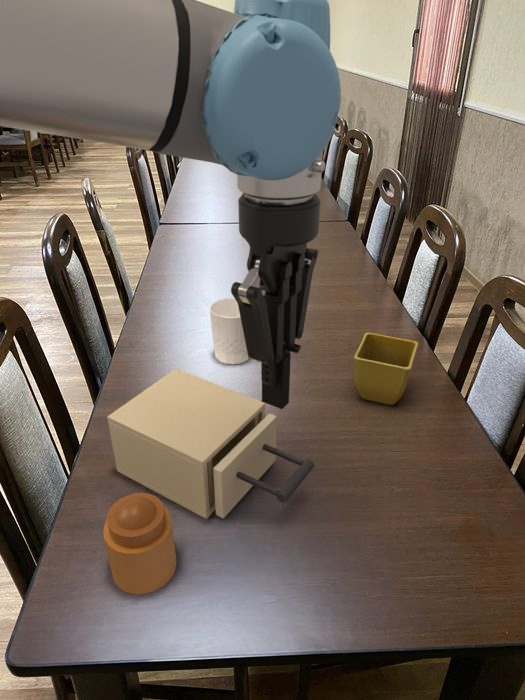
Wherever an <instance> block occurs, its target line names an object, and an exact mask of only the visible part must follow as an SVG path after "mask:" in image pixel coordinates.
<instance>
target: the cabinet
mask: <svg viewBox="0 0 525 700" xmlns="http://www.w3.org/2000/svg"><path fill="white" fill-rule="evenodd" d="M257 415H258V424H259V423H260V422H261V421H262V420H263V419H264V418H265V417H266V403H264V402H262V400H260V399H259V400H258V399H256V398H253V397H250V396H248V395H245V394H243V393H241V392H238V391H235V390H233V389H230V388H228V387H225V386H222V385H219V384H218V383H215V382H212V381H209V380H207V379H204V378H202V377H199V376H196V375H195V374H191V373H189V372H186V371H183V370H181V369H178V368H174V369H173V370H172V371H170V372H169V373H167V374H165V376H163V377H161V378H160V379H159V380H157V381H156V382H155V383H153V384H152V385H150V386H149V387H147V388H146V389H144V390H143V391H142V392H140V393H139V394H137V395H136V396H134V397H133V398H131V399H130V400H128V401H127V402H126V403H125V404H123V405H122V406H120V407H118V408H117V409H116V410H114V411H113V412H112V413H110V414H109V415H107V416H106V419H107V423H108V429H109V434H110V439H111V445H112V451H113V457H114V461H115V462H114V463H115V466H116V472H117V473H119V474H122V475H123V476H125V477H127V478H129V479H131V480H133V481H134V482H136V483H138V484H140V485H142V486H144V487H146V488H148V489H149V490H151V491H153V492H155V493H157V494H158V495H161V496H162V497H164V498H166V499H168V500H170V501H172V502H173V503H176V504H177V505H179V506H181V507H183V508H185V509H187V510H189V511H190V512H192V513H194V514H196V515H198V516H200V517H201V518H203V519H206V520H207V519H209V517H210V516H211V515H212V514H213V513H214V512H216V507H215V501H214V502H213V503H212V504H211V505H210V504H209V488H208V472H207V463H208V462H209V461H210V460H211V459H212V458H213V457H214V456H215V455H216V454H217V453H218V452H219V451H220V450H221V449H222V448H223V447H224V446H225V445H226V444H227V443H229V442H230V441H231V440H232V439H233V438H234V437H235V436H236V435H237V434H238V433H239V432H240V431H241V430H242V429H243V428H244V427H245V426H246V425H247V424H248V423H249V422H250V421H252V420H253V419H254V418H255V417H256V416H257Z"/></svg>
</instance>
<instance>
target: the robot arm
mask: <svg viewBox="0 0 525 700" xmlns="http://www.w3.org/2000/svg"><path fill="white" fill-rule="evenodd" d="M233 7H234V9H233V11H232V12H231V11H228V10H225V9H223V8H220V7H217V6H213V5H211V4H208V3H204V2H202V1H199V0H0V127H4V128H5V127H6V128H11V129H17V130H23V131H29V132H35V133H41V134H46V135H47V134H48V135H53V136H60V137H65V138H71V139H77V140H83V141H89V142H96V143H100V144H101V143H102V144H107V145H112V146H113V145H114V146H119V147H125V148H132V149H137V150H144V151H147V152H153V153H156V154H160V155H165V156H166V155H167V156H170V157H171V156H172V157H176V158H177V157H178V158H183V159H189V160H194V161H200V162H201V161H202V162H206V163H213V164H217V165H221V166H223V167H225V168H226V169H227V170H228V171H229V172H230V173H233V174H235V175H237V177H236V179H237V189H238V190H239V191H240V192H241V193H242V194H241V195H240V197H238V202H237V203H238V233H239V235H240V236H241V237H242V238H243V239H244V240H245V242H247V244H248V247H249V252H248V256H247V261H246V268H247V272H248V273H247V274H246V276H245V278H244V280H243V281H242V282H238V281H235V282H233V283H232V285H231V288H230V293H231V295H232V296H233V298H235V300H236V301H237V303H238V307H239V312H240V317H241V322H242V328H243V333H244V338H245V343H246V348H247V353H248V357H249V359H250V360H253V361H257V362H259V363H261V365H260V366H261V370H260V371H261V373H260V375H261V402H264V403H265V404H266V405H270V406H271V407H274V408H277V409H280V410H283V409H284V408H285V407H286V406H287V405H288V404H289V403H290V385H291V384H290V383H291V358H292V357H291V354H292V353H295V354H298V353H300V351H301V348H302V345H300V344H297V343H296V339H297V340H300V339H301V338H302V337H303V334H304V329H305V322H306V316H307V310H308V304H309V297H310V292H311V285H312V280H313V274H314V269H315V267H316V264H317V260H318V258H319V250H318V249H317V248H316V249H315V248H311V247H308V243H310V242H312V241H314V240H315V239H316V238H317V236H318V234H319V231H320V216H321V215H320V214H321V199H320V197H319V196H318V195H317V193H318V192H319V191H321V187H322V173H323V172H325V170H326V163H325V161H324V160H323V153H324V151H325V149H326V148H327V146H328V145H329V143H330V141H331V139H332V137H333V135H334V131H335V129H336V124H337V122H338V120H339V112H340V109H341V101H342V100H341V99H342V90H341V89H342V88H341V87H342V86H341V78H340V74H339V70H338V66H337V63H336V60H335V58H334V56H333V54H332V52H331V12H330V11H331V9H330V3H329V1H328V0H234V6H233Z"/></svg>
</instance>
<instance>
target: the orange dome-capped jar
mask: <svg viewBox="0 0 525 700" xmlns="http://www.w3.org/2000/svg"><path fill="white" fill-rule="evenodd" d="M103 526H104V527H103V532H102V533H103V538H104V543H105V548H106V554H107V557H108V562H109V566H110V571H111V576H112V580H113V582H114V584H115V585H116V586H117V588H119V589H120V590H121V591H122V592H125V593H127V594H131V595H140V596H141V595H148V594H152V593H154V592H156V591H158V590H161V588H163V587H164V586H166V585H167V583H168V582H169V581H170V580H171V579H172V577H173V576H174V574H175V572H176V569H177V553H176V546H175V537H174V529H173V520H172V516H171V513H170V511H169V510H168V509H167V507H165V505H164V503H163V501H162V500H161V499H160V498H159V497H158V496H156V495H154V494H151V493H147V492H134V493H130V494H127V495H125V496H123V497H121V498H119V499H117V500H116V501H115V502H114V503H113V504H112V505H111V506H110V508H109V510H108V511H107V515H106V521H105V522H104V525H103Z"/></svg>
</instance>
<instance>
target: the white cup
mask: <svg viewBox="0 0 525 700" xmlns="http://www.w3.org/2000/svg"><path fill="white" fill-rule="evenodd" d="M209 318H210V326H211V327H210V328H211V335H212V341H213V342H212V343H213V346H214V347H213V348H214V356H215V359H217V361H218V362H220V363H222V364H226V365H240V364H243V363H245V362H247V361H248V360H249V359H250V358H249V357H248V353H247V348H246V343H245V338H244V333H243V328H242V322H241V317H240V312H239V307H238V303H237V301H236V300H235V298H234V297H226V298H220V299H218V300H216V301H214V302H212V303H211V304H210V306H209Z"/></svg>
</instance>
